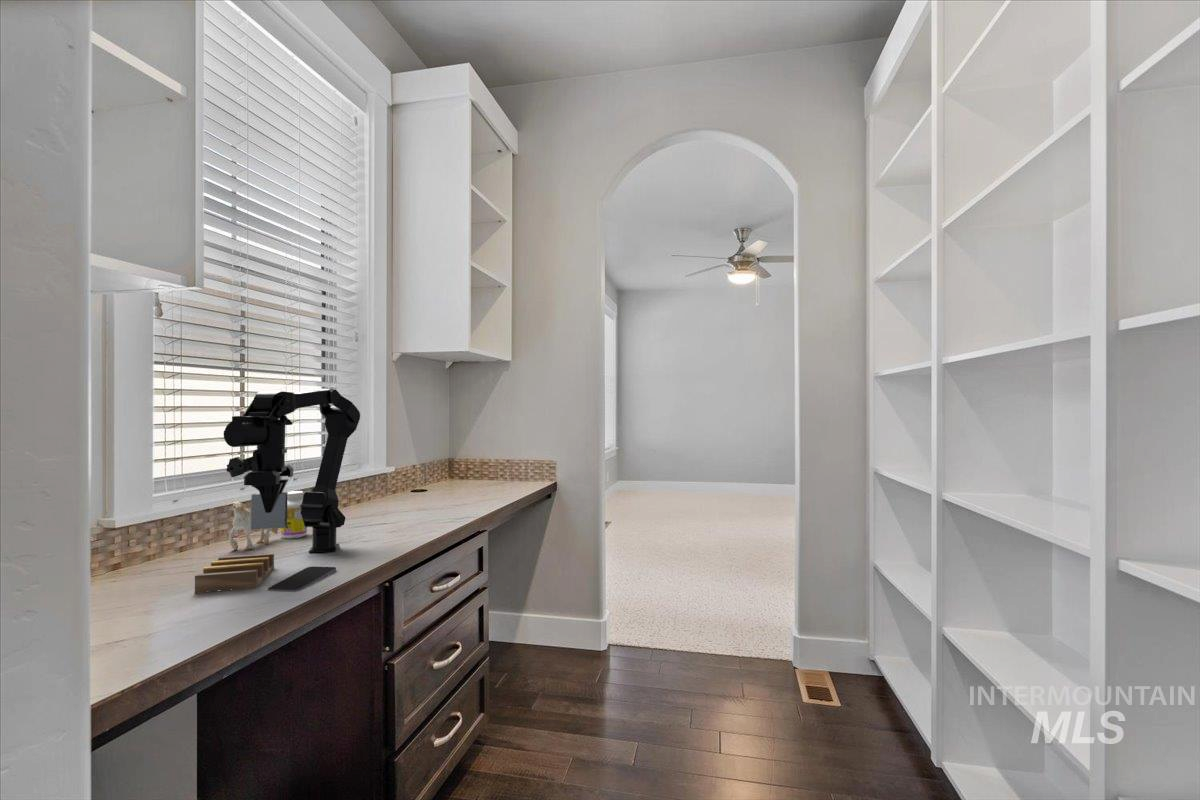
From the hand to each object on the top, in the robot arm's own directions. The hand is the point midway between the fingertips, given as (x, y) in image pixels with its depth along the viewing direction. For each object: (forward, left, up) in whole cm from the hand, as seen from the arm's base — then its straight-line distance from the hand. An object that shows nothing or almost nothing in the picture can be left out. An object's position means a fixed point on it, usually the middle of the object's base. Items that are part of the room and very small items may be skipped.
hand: (269, 511), depth 133 cm
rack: (+7, -5, -13) cm, 16 cm away
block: (0, 0, -4) cm, 4 cm away
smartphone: (+11, +9, -14) cm, 20 cm away
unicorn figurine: (-23, -8, -14) cm, 28 cm away
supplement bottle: (-35, -2, -14) cm, 37 cm away
